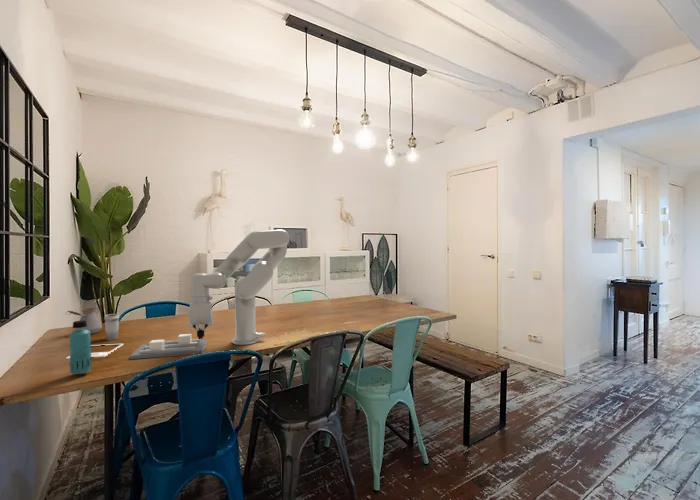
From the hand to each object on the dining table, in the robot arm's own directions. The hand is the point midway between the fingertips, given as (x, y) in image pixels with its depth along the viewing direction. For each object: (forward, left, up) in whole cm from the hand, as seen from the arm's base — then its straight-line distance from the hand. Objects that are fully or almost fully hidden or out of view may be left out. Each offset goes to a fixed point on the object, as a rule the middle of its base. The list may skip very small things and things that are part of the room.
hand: (200, 338), depth 164 cm
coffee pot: (+62, -36, -4) cm, 72 cm away
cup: (+45, -25, -4) cm, 51 cm away
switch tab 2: (+7, 0, -2) cm, 7 cm away
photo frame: (+44, -4, -4) cm, 44 cm away
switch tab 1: (+17, +7, -2) cm, 18 cm away
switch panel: (+12, +3, -4) cm, 13 cm away
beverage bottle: (+38, +26, -4) cm, 46 cm away
